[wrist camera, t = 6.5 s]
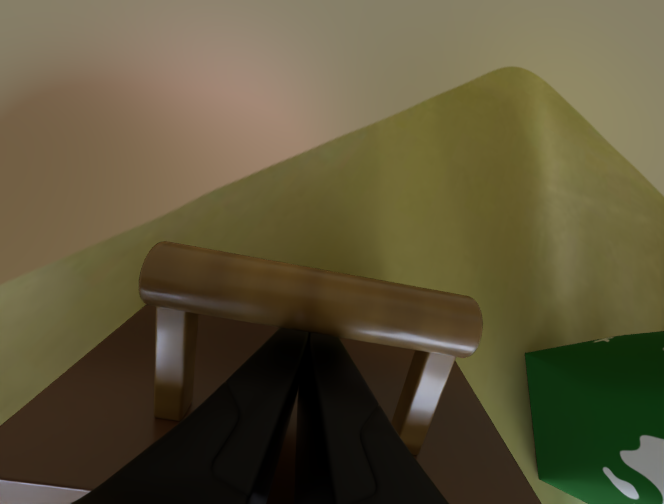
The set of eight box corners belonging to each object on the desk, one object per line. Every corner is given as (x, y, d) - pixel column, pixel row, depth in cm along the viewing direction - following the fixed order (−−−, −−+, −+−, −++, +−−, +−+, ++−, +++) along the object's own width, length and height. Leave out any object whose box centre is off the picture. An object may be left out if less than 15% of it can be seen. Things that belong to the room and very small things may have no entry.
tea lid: (554, 573, 7) (684, 382, 5) (-50, 501, 6) (-119, 246, 4) (432, 343, 15) (467, 241, 13) (169, 299, 14) (174, 184, 12)
